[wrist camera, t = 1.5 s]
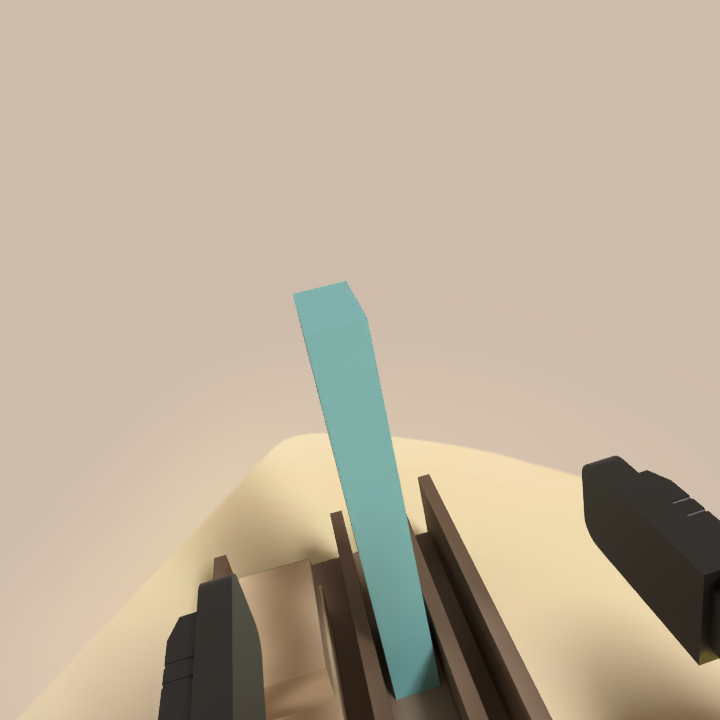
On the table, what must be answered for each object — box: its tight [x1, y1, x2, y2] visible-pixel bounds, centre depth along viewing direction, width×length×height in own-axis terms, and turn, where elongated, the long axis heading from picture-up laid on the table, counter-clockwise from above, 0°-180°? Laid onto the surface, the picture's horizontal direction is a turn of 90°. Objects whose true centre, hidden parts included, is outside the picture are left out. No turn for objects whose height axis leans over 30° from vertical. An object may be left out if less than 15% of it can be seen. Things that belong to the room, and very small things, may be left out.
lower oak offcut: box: [275, 585, 348, 720], centre depth 33 cm, size 5×9×2 cm, turn 11°
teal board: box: [293, 281, 440, 700], centre depth 29 cm, size 2×5×22 cm, turn 10°
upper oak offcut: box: [238, 559, 336, 720], centre depth 32 cm, size 5×8×2 cm, turn 11°
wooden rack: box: [213, 474, 552, 720], centre depth 33 cm, size 16×18×6 cm
